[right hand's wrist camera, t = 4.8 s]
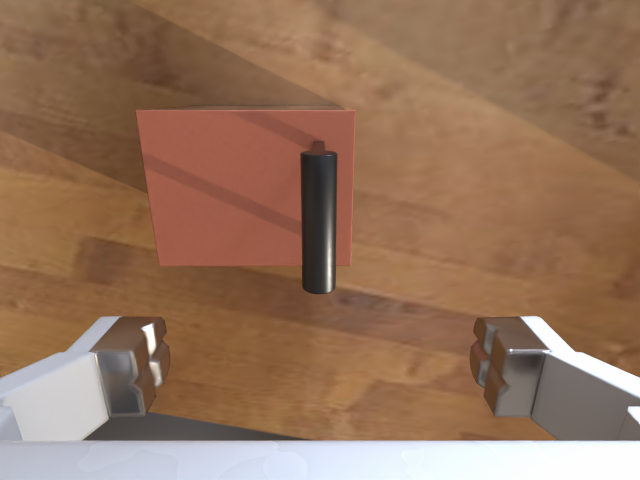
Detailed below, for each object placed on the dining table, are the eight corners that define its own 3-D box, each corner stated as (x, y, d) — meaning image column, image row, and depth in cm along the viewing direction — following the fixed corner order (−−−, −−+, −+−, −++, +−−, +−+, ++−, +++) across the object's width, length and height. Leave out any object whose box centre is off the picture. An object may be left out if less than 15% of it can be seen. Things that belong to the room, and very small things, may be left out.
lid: (354, 109, 25) (370, 116, 17) (349, 260, 28) (361, 322, 20) (142, 109, 24) (61, 116, 17) (164, 260, 28) (105, 323, 20)
